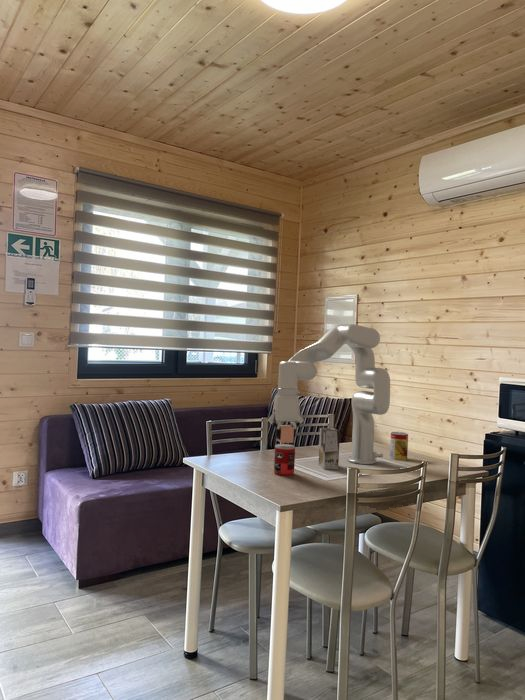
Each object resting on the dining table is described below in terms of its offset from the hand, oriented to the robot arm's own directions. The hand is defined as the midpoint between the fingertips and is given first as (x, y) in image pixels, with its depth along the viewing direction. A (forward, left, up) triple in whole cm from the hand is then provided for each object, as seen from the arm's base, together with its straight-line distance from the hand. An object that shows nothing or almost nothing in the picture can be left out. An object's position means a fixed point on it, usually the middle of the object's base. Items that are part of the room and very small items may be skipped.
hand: (285, 438), depth 206 cm
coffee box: (-23, -9, -14) cm, 29 cm away
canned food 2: (-64, -21, -14) cm, 69 cm away
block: (0, 0, -1) cm, 1 cm away
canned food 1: (0, 0, -14) cm, 14 cm away
